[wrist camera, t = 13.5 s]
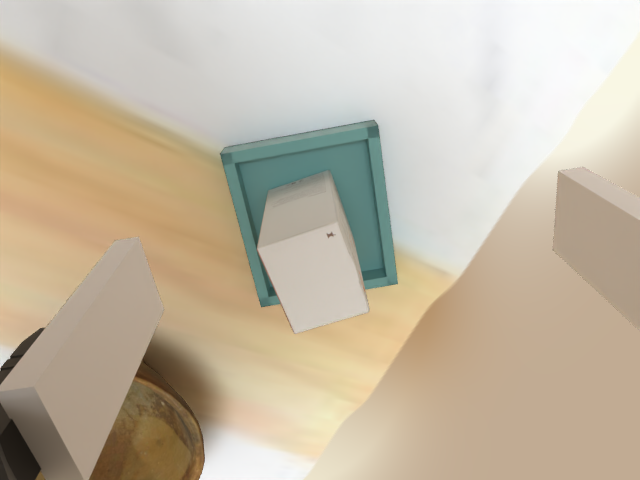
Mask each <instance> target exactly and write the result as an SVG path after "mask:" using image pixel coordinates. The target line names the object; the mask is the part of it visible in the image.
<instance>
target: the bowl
mask: <svg viewBox="0 0 640 480" xmlns="http://www.w3.org/2000/svg"><path fill="white" fill-rule="evenodd" d="M204 462H205V455H204V444H203V436H202V433H201V429H200V426H199V423H198V421H197V419H196V417H195V415H194V414H193V412H192V410H191V409H190V407H189V406H188V404H187V403H186V402H185V401H184V399H183V398H182V397H181V396H180V395H179V394H178V393H177V392H176V391H175V390H174V389H173V388H172V387H171V386H170V385H169V384H168V383H167V382H166V381H165V380H164V379H163V378H162V377H161V376H160V375H159V374H158V373H157V372H156V371H154V370H153V369H152V368H150V367H148V366H147V365H146V364H145V363H144V362H143V361H141V363H140V366H139V368H138V370H137V372H136V375H135V377H134V379H133V381H132V384H131V386H130V388H129V390H128V393H127V395H126V397H125V399H124V402H123V404H122V406H121V408H120V411H119V413H118V415H117V417H116V420H115V422H114V424H113V426H112V429H111V431H110V433H109V435H108V438H107V440H106V442H105V444H104V447H103V449H102V451H101V453H100V456H99V458H98V460H97V462H96V465H95V467H94V469H93V471H92V474H91V476H90V478H89V480H199V478H200V475H201V474H202V470H203V466H204ZM35 480H46V479H45V478H44V476H43V474H42V473H41V471H40V472H39V474H38V476H37V478H36V479H35Z"/></svg>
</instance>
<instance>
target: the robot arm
mask: <svg viewBox="0 0 640 480" xmlns="http://www.w3.org/2000/svg"><path fill="white" fill-rule="evenodd" d="M553 239H554V240H553V251H554V252H555V253H556V254H557V255H559V256H560V257H561V258H562V259H563V260H564V261H565V262H566V263H567V264H568V265H569V266H570V267H572V268H573V269H574V270H575V271H576V272H577V273H578V274H579V275H580V276H581V277H582V278H583V279H584V280H585V281H587V282H588V283H589V284H590V285H591V286H592V287H593V288H594V289H595V290H596V291H597V292H598V293H599V294H600V295H602V296H603V297H604V298H605V299H606V300H607V301H608V302H609V303H610V304H611V305H612V306H613V307H614V308H616V309H617V310H618V311H619V312H620V313H621V314H622V315H623V316H624V317H625V318H626V319H627V320H628V321H630V322H631V323H632V324H633V325H634V326H635V327H636V328H637V329H638V330H639V331H640V197H638V196H636V195H634V194H632V193H631V192H629V191H627V190H625V189H623V188H621V187H620V186H618V185H616V184H614V183H612V182H610V181H608V180H607V179H605V178H603V177H601V176H599V175H597V174H595V173H594V172H592V171H590V170H588V169H586V168H584V167H579V168H573V169H566V170H560V171H558V181H557V194H556V209H555V225H554V238H553ZM163 312H164V307H163V304H162V301H161V299H160V296H159V293H158V290H157V287H156V284H155V281H154V279H153V276H152V273H151V270H150V267H149V264H148V261H147V259H146V256H145V253H144V250H143V247H142V244H141V241H140V239H139V237H134V238H128V239H121V240H115V241H114V242H113V244H112V245H111V246H110V247H109V249H108V250H107V251H106V252H105V254H104V255H103V256H102V257H101V259H100V260H99V261H98V262H97V264H96V265H95V266H94V267H93V269H92V270H91V271H90V273H89V274H88V275H87V276H86V278H85V279H84V280H83V281H82V283H81V284H80V285H79V286H78V288H77V289H76V290H75V291H74V293H73V294H72V295H71V296H70V298H69V299H68V300H67V301H66V303H65V304H64V305H63V307H62V308H61V309H60V310H59V312H58V313H57V314H56V315H55V317H54V318H53V319H52V320H51V322H50V323H49V324H48V325H47V327H46V328H40V329H39V330H38V331H36V332H35V333H34V334H32V335H31V336H30V337H28V338H27V339H26V340H24V341H23V342H22V343H21V344H20V345H19V346H18V348H17V349H16V350H15V351H14V352H13V354H12V355H11V356H10V359H8V360H7V361H6V362H5V363H4V364H3V366H2V367H1V368H0V369H1V371H0V480H35V479H36V478H37V476H38V474H39V472H40V471H41V473H42V474H43V476H44V478H45V479H46V480H89V478H90V476H91V474H92V471H93V469H94V467H95V465H96V462H97V460H98V458H99V456H100V453H101V451H102V449H103V447H104V444H105V442H106V440H107V438H108V435H109V433H110V431H111V429H112V426H113V424H114V422H115V420H116V417H117V415H118V413H119V411H120V408H121V406H122V404H123V402H124V399H125V397H126V395H127V393H128V390H129V388H130V386H131V384H132V381H133V379H134V377H135V375H136V372H137V370H138V368H139V366H140V363H141V361H142V359H143V357H144V354H145V352H146V350H147V348H148V345H149V343H150V341H151V339H152V336H153V334H154V332H155V330H156V327H157V325H158V323H159V321H160V318H161V316H162V314H163Z"/></svg>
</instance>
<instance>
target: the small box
mask: <svg viewBox="0 0 640 480" xmlns="http://www.w3.org/2000/svg"><path fill="white" fill-rule="evenodd" d="M257 252H258V254H259V256H260V258H261V261H262V263H263V265H264V267H265V270H266V272H267V274H268V276H269V279H270V281H271V283H272V285H273V288H274V290H275V292H276V294H277V297H278V299H279V301H280V303H281V306H282V308H283V310H284V312H285V314H286V317H287V319H288V321H289V323H290V326H291V328H292V330H293V332H294V334H297V333H300V332H303V331H307V330H310V329H313V328H316V327H320V326H323V325H327V324H330V323H333V322H337V321H340V320H344V319H347V318H351V317H354V316H358V315H361V314H365V313H368V312H369V305H368V300H367V296H366V291H365V287H364V282H363V278H362V273H361V268H360V264H359V260H358V256H357V251H356V246H355V241H354V238H353V235H352V232H351V229H350V226H349V223H348V220H347V217H346V214H345V211H344V208H343V205H342V203H341V200H340V197H339V194H338V191H337V188H336V185H335V183H334V180H333V177H332V175H331V172H330V170H326V171H323V172H320V173H318V174H315V175H312V176H309V177H306V178H303V179H300V180H297V181H294V182H291V183H289V184H286V185H282V186H279V187H276V188H273V189H270V190H268V194H267V199H266V205H265V210H264V215H263V220H262V225H261V230H260V236H259V241H258V245H257Z"/></svg>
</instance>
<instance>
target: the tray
mask: <svg viewBox="0 0 640 480" xmlns="http://www.w3.org/2000/svg"><path fill="white" fill-rule="evenodd" d="M220 155H221V159H222V162H223V166H224V170H225V174H226V177H227V181H228V185H229V189H230V192H231V196H232V200H233V204H234V207H235V211H236V215H237V219H238V222H239V226H240V230H241V234H242V237H243V241H244V245H245V249H246V252H247V256H248V260H249V264H250V267H251V271H252V275H253V279H254V282H255V286H256V290H257V294H258V297H259V301H260V305H261V307H265V306H271V305H277V304H281V303H280V301H279V299H278V297H277V294H276V292H275V290H274V288H273V285H272V283H271V281H270V279H269V276H268V274H267V272H266V270H265V267H264V265H263V263H262V261H261V258H260V256H259V254H258V252H257V245H258V241H259V236H260V230H261V225H262V220H263V215H264V210H265V205H266V199H267V194H268V190H270V189H273V188H276V187H279V186H282V185H286V184H289V183H291V182H294V181H297V180H300V179H303V178H306V177H309V176H312V175H315V174H318V173H320V172H323V171H326V170H330V172H331V175H332V177H333V180H334V183H335V185H336V188H337V191H338V194H339V197H340V200H341V203H342V205H343V208H344V211H345V214H346V217H347V220H348V223H349V226H350V229H351V232H352V235H353V238H354V241H355V246H356V251H357V256H358V260H359V264H360V268H361V273H362V278H363V282H364V287H365V289H371V288H377V287H383V286H389V285H395V284H398V281H397V273H396V265H395V257H394V249H393V241H392V233H391V225H390V217H389V209H388V201H387V193H386V185H385V177H384V169H383V161H382V153H381V145H380V137H379V129H378V125H377V123H376V122H375V121H374V120H371V121H365V122H360V123H354V124H349V125H344V126H338V127H333V128H327V129H322V130H316V131H311V132H306V133H300V134H295V135H289V136H284V137H278V138H273V139H268V140H262V141H257V142H251V143H246V144H240V145H235V146H230V147H225V148H224V149H223V151H222V152H221V154H220Z"/></svg>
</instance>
